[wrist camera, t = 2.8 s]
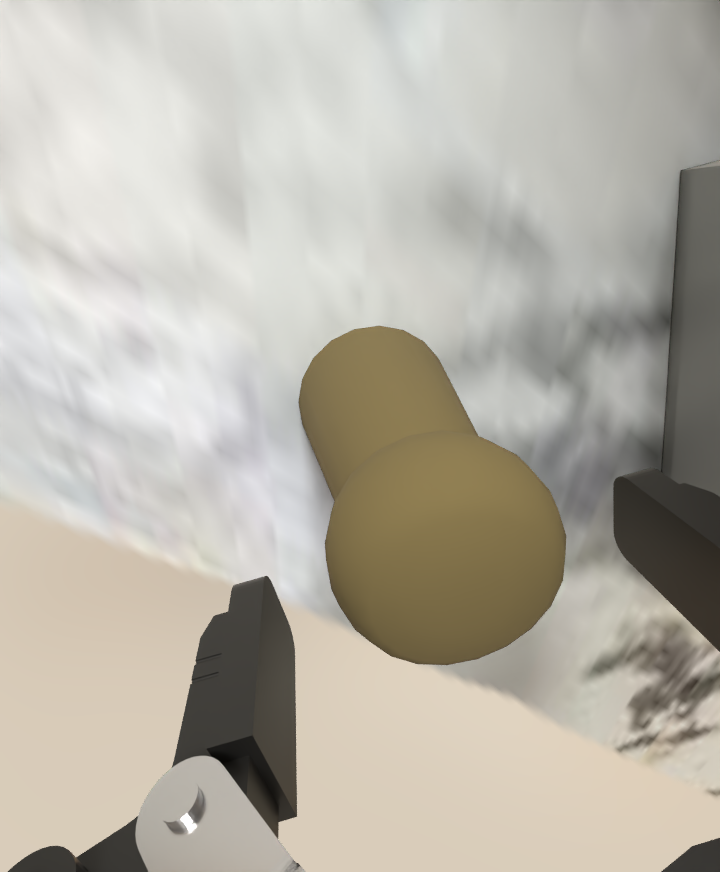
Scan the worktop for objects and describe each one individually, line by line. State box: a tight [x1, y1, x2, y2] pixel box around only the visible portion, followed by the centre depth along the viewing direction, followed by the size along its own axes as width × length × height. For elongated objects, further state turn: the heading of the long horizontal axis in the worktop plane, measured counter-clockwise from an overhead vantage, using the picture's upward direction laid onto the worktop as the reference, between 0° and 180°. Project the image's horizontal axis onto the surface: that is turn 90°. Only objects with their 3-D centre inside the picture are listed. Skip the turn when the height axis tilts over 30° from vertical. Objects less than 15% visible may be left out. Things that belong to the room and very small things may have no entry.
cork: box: [299, 326, 566, 665], centre depth 14 cm, size 6×6×11 cm
